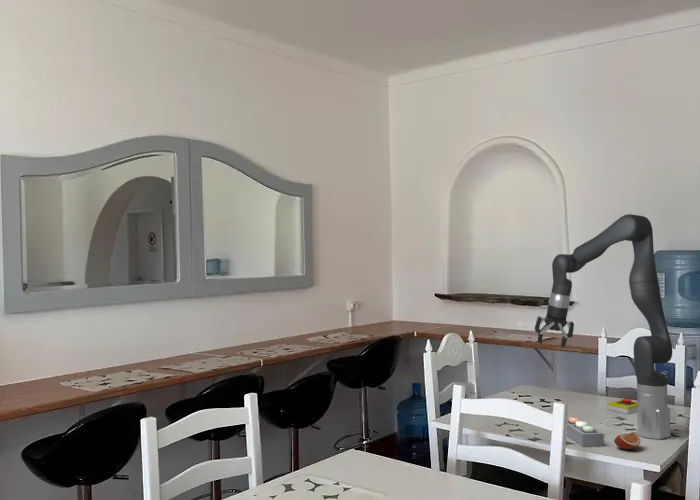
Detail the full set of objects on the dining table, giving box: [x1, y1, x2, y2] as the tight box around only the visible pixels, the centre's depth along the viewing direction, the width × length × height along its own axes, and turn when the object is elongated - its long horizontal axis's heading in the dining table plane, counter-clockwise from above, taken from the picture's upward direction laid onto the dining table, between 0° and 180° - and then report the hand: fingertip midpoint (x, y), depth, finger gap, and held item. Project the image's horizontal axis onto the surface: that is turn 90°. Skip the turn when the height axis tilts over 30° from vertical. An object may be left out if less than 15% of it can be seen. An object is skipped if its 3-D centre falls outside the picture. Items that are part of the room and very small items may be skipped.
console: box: [566, 419, 605, 448], centre depth 221 cm, size 18×7×4 cm, turn 5°
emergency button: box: [603, 398, 637, 416], centre depth 259 cm, size 9×4×15 cm
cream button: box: [576, 420, 588, 429], centre depth 221 cm, size 3×3×2 cm
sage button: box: [583, 424, 595, 433], centre depth 216 cm, size 3×3×2 cm
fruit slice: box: [613, 431, 642, 450], centre depth 209 cm, size 8×7×5 cm
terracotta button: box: [568, 416, 581, 424], centre depth 227 cm, size 3×3×2 cm
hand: (551, 344), depth 262 cm, fingers open, 8 cm apart
